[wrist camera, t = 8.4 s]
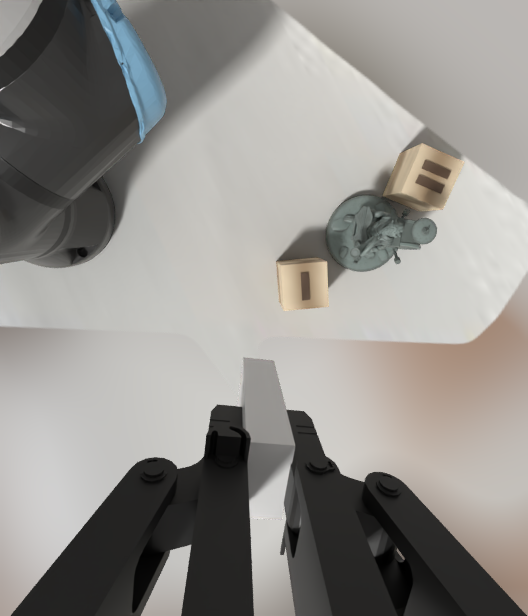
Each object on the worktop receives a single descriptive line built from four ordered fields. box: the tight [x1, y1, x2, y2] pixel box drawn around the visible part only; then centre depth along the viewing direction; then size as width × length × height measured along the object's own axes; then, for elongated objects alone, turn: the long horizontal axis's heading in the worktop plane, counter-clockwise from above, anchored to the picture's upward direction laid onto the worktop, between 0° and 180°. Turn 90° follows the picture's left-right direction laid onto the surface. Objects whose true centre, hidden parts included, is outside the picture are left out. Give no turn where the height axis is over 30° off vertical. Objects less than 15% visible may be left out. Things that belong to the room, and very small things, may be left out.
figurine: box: [326, 195, 437, 272], centre depth 44 cm, size 11×11×12 cm
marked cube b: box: [382, 143, 464, 211], centre depth 45 cm, size 6×6×6 cm
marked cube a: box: [276, 257, 329, 311], centre depth 47 cm, size 6×6×6 cm
